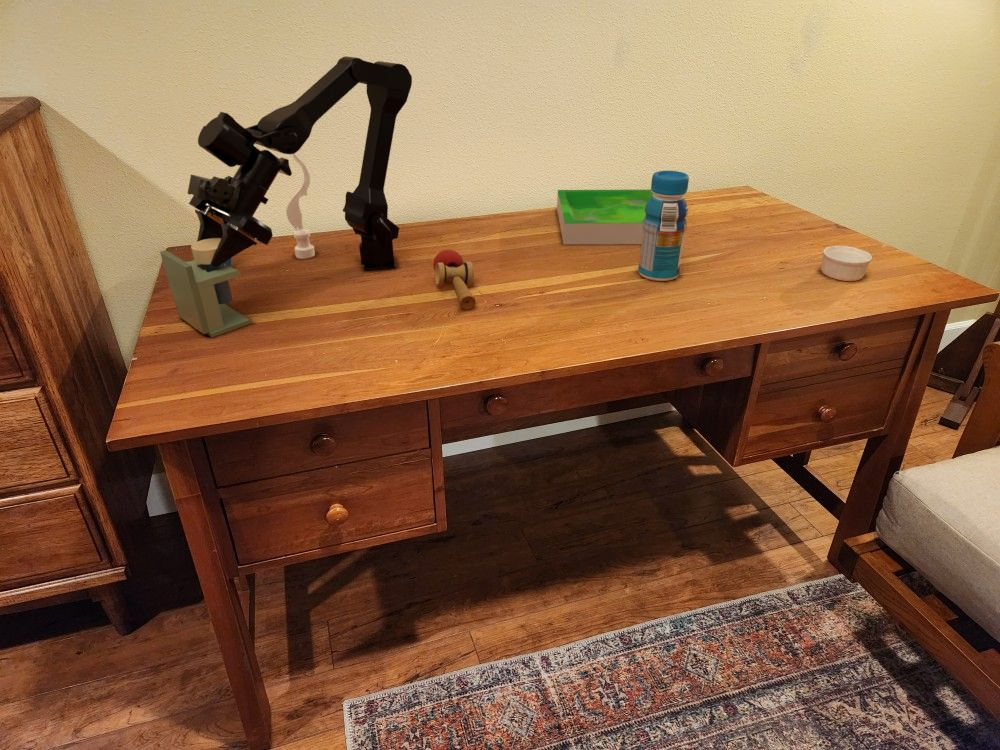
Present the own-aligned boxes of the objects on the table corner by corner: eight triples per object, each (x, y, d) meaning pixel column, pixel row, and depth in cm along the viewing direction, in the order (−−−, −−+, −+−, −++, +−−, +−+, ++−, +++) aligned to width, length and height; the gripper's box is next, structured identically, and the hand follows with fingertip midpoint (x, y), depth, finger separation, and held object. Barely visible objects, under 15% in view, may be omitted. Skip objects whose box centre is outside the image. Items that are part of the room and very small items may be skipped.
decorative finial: (294, 259, 144) (273, 139, 131) (293, 253, 147) (272, 134, 134) (322, 256, 145) (304, 136, 132) (320, 249, 149) (302, 132, 136)
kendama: (492, 312, 124) (466, 264, 138) (486, 284, 120) (460, 237, 133) (452, 324, 123) (430, 275, 137) (445, 296, 119) (423, 248, 132)
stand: (221, 305, 125) (205, 238, 118) (251, 323, 118) (235, 254, 112) (178, 319, 120) (158, 250, 113) (206, 339, 113) (187, 268, 107)
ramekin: (875, 276, 134) (882, 256, 131) (847, 286, 130) (853, 265, 128) (836, 262, 140) (841, 242, 138) (808, 271, 136) (813, 250, 134)
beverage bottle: (629, 274, 135) (639, 175, 125) (651, 263, 141) (663, 166, 130) (665, 286, 131) (679, 183, 120) (687, 273, 136) (702, 174, 125)
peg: (242, 292, 122) (229, 236, 116) (238, 305, 117) (224, 248, 112) (208, 295, 121) (194, 239, 115) (203, 309, 116) (187, 251, 111)
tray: (675, 244, 150) (678, 222, 147) (563, 244, 150) (564, 222, 148) (654, 208, 171) (657, 189, 169) (556, 209, 172) (557, 189, 169)
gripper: (186, 145, 114) (139, 224, 113) (239, 164, 103) (187, 252, 102) (239, 182, 123) (196, 255, 122) (293, 203, 112) (246, 284, 111)
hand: (205, 261), depth 114 cm, fingers closed on peg, 6 cm apart
